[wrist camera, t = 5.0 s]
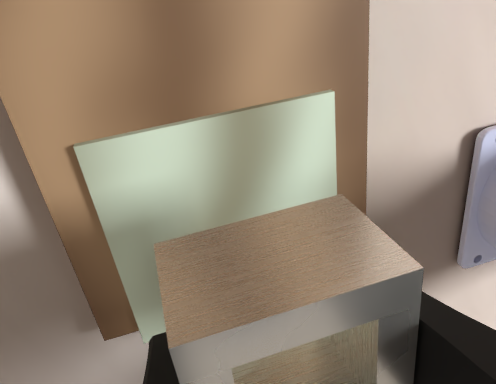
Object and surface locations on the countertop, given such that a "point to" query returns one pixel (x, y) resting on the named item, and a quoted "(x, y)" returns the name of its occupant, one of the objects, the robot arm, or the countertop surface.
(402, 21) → the countertop surface
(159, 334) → the robot arm
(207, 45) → the board
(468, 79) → the countertop surface
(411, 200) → the countertop surface
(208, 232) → the white square frame
